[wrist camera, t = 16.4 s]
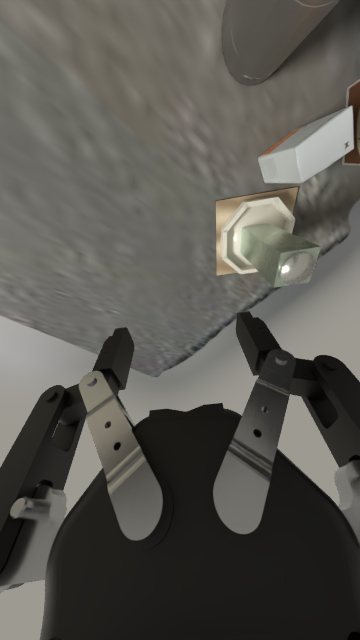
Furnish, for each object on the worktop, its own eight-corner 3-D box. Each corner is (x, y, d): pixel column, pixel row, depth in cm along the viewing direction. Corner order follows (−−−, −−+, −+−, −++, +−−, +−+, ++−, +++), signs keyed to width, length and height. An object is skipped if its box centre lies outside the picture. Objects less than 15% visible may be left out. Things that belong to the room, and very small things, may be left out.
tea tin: (241, 227, 35) (283, 254, 22) (267, 223, 35) (324, 247, 22) (240, 252, 38) (275, 289, 25) (263, 248, 38) (311, 284, 25)
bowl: (220, 204, 33) (223, 206, 31) (293, 192, 32) (301, 192, 30) (220, 272, 42) (222, 276, 40) (278, 263, 41) (283, 267, 39)
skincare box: (293, 129, 28) (355, 101, 18) (298, 159, 30) (356, 149, 20) (255, 157, 30) (295, 146, 20) (263, 184, 32) (301, 185, 22)
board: (216, 200, 33) (216, 201, 33) (297, 186, 32) (298, 186, 32) (216, 274, 42) (217, 275, 42) (279, 265, 41) (280, 266, 41)
